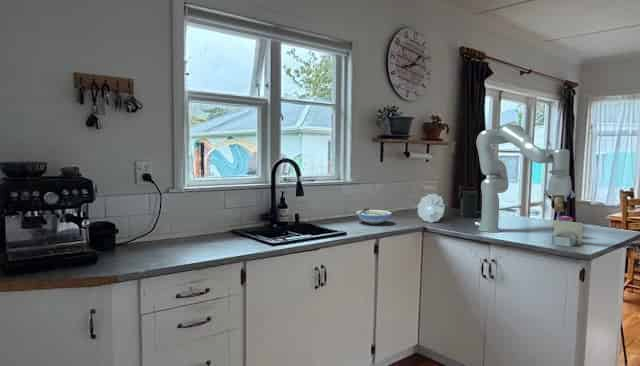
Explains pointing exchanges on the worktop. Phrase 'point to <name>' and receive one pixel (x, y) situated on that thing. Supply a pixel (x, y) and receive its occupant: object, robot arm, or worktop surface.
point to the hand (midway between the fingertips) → (559, 208)
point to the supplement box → (565, 218)
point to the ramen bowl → (373, 216)
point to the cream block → (567, 233)
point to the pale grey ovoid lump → (431, 208)
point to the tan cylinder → (558, 204)
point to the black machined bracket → (468, 202)
